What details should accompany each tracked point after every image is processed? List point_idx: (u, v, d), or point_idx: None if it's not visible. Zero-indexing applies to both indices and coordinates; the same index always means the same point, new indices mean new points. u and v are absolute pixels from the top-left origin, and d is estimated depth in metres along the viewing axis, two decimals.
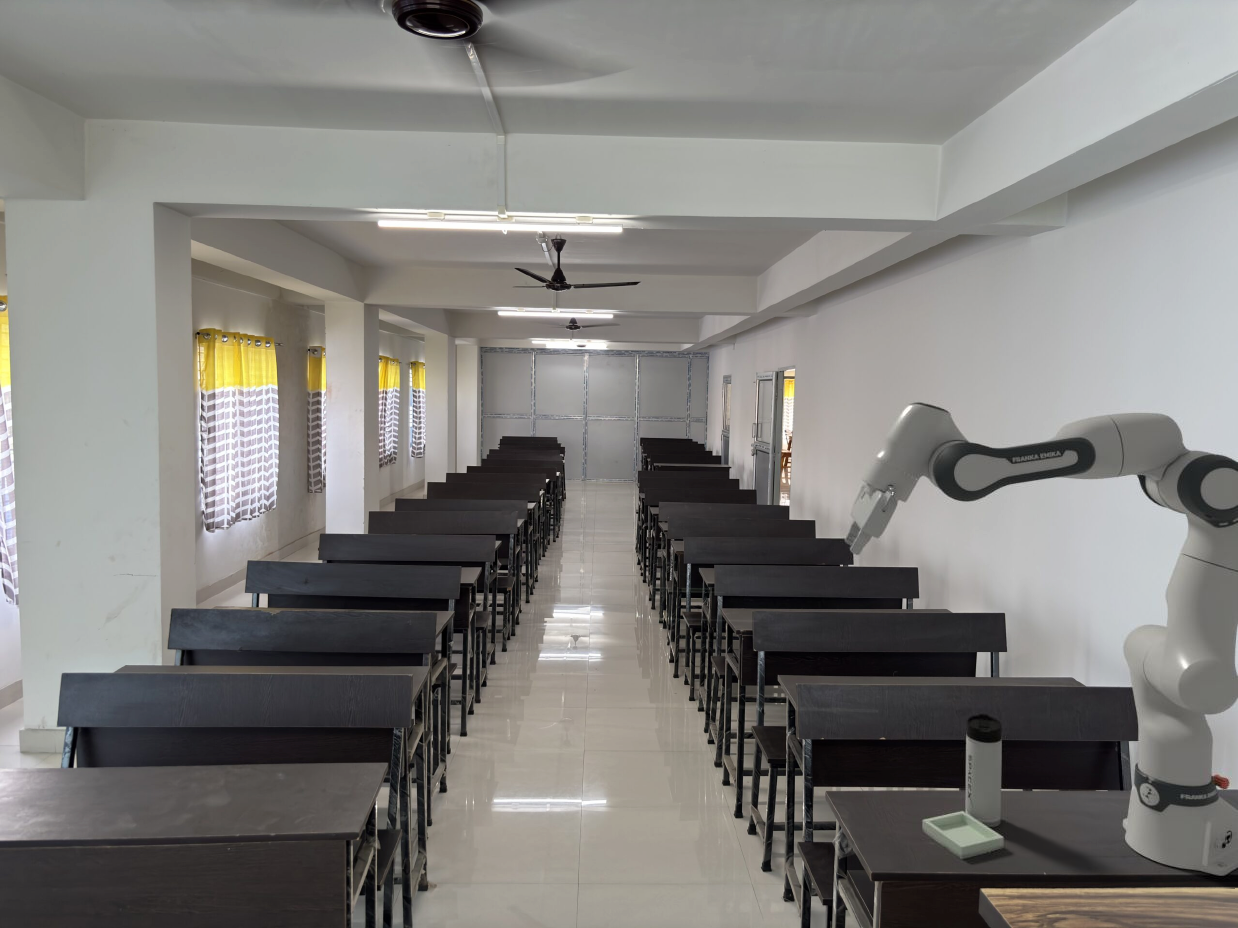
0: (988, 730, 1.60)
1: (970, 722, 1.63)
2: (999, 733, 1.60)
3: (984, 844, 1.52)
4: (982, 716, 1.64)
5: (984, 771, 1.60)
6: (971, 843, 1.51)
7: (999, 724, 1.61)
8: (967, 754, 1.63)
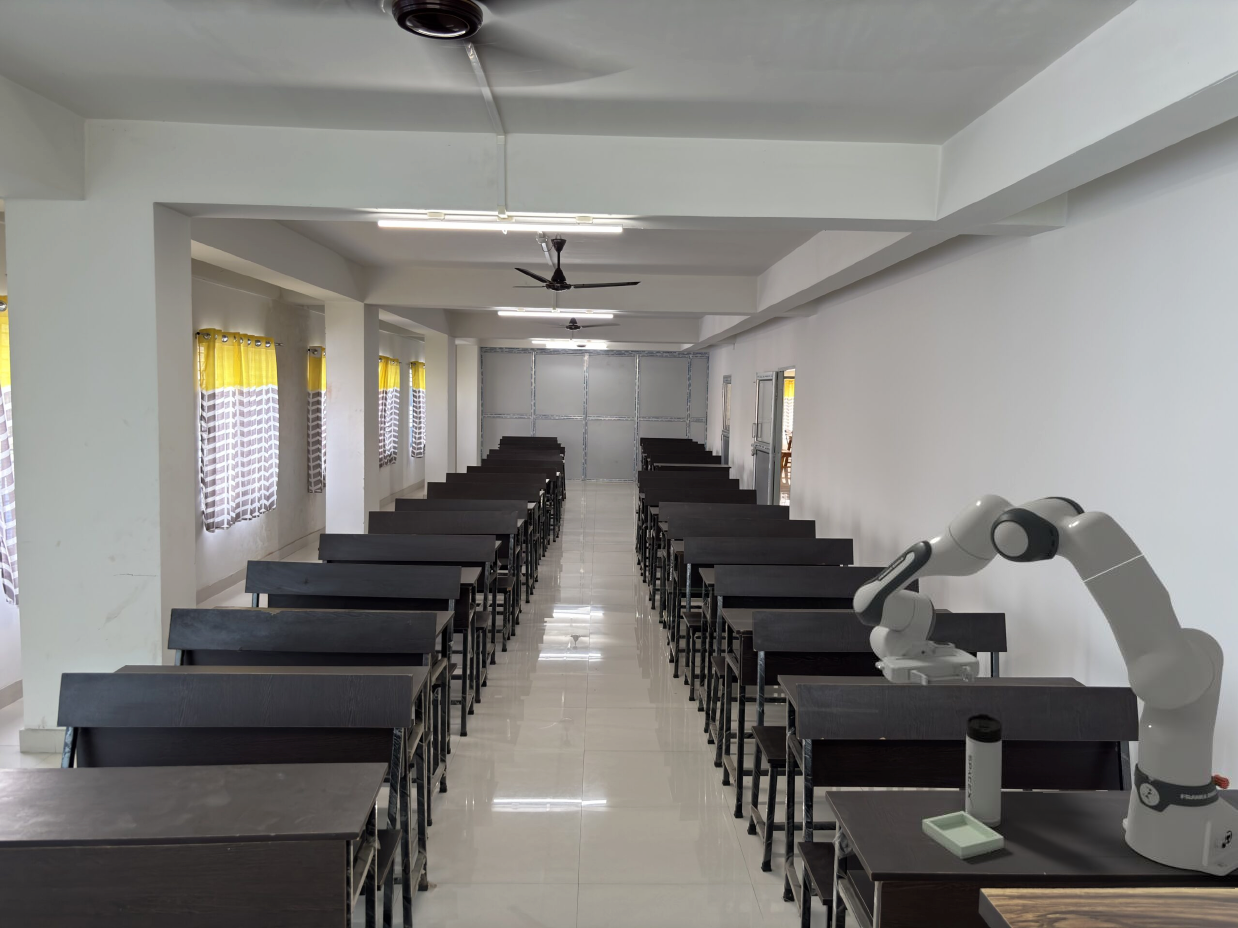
0: (988, 730, 1.60)
1: (970, 722, 1.63)
2: (999, 733, 1.60)
3: (984, 844, 1.52)
4: (982, 716, 1.64)
5: (984, 771, 1.60)
6: (971, 843, 1.51)
7: (999, 724, 1.61)
8: (967, 754, 1.63)
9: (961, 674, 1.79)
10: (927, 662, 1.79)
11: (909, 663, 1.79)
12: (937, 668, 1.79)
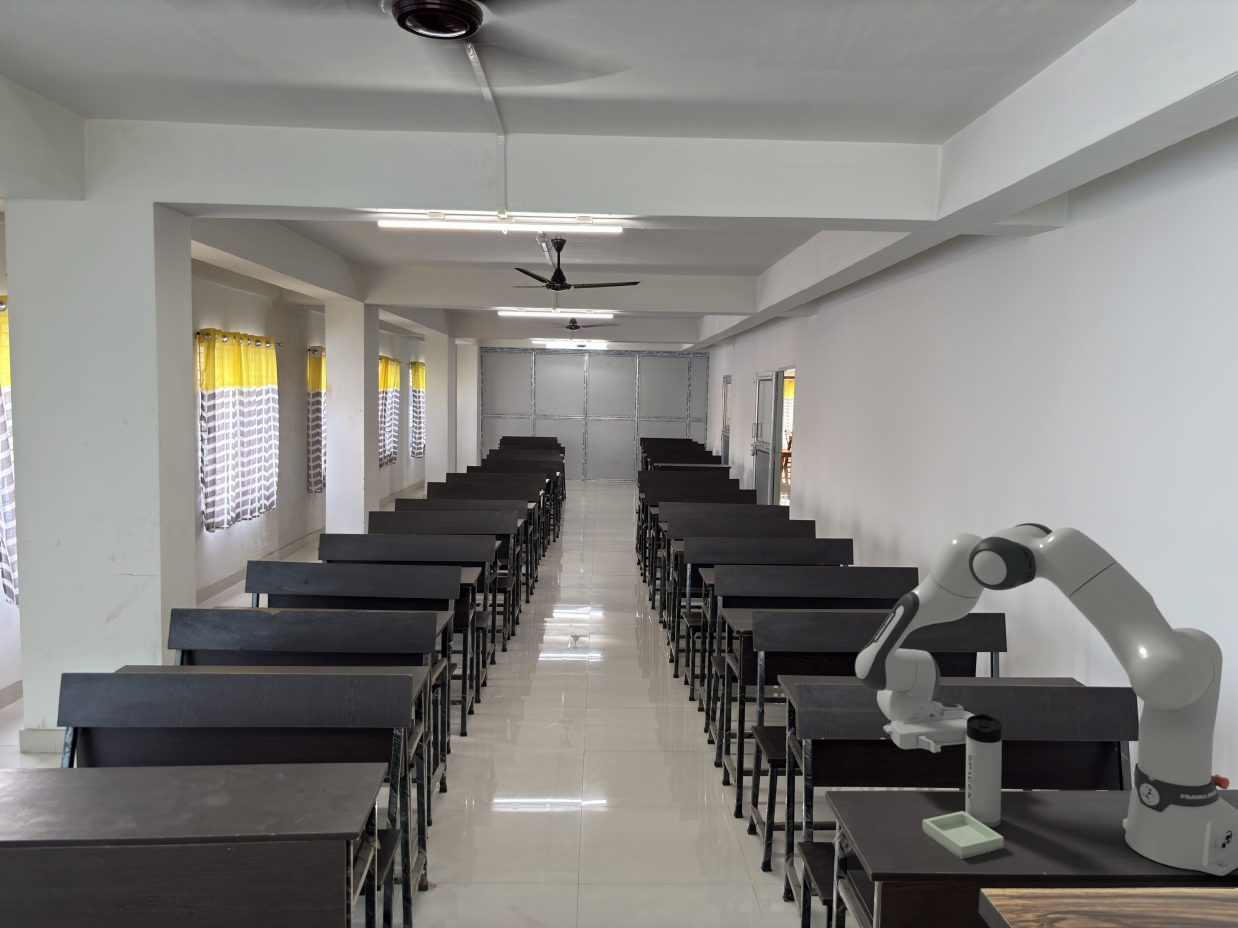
0: (988, 730, 1.60)
1: (970, 722, 1.63)
2: (999, 733, 1.60)
3: (984, 844, 1.52)
4: (982, 716, 1.64)
5: (984, 771, 1.60)
6: (971, 843, 1.51)
7: (999, 724, 1.61)
8: (967, 754, 1.63)
9: None
10: (936, 727, 1.77)
11: (917, 728, 1.77)
12: (946, 733, 1.77)
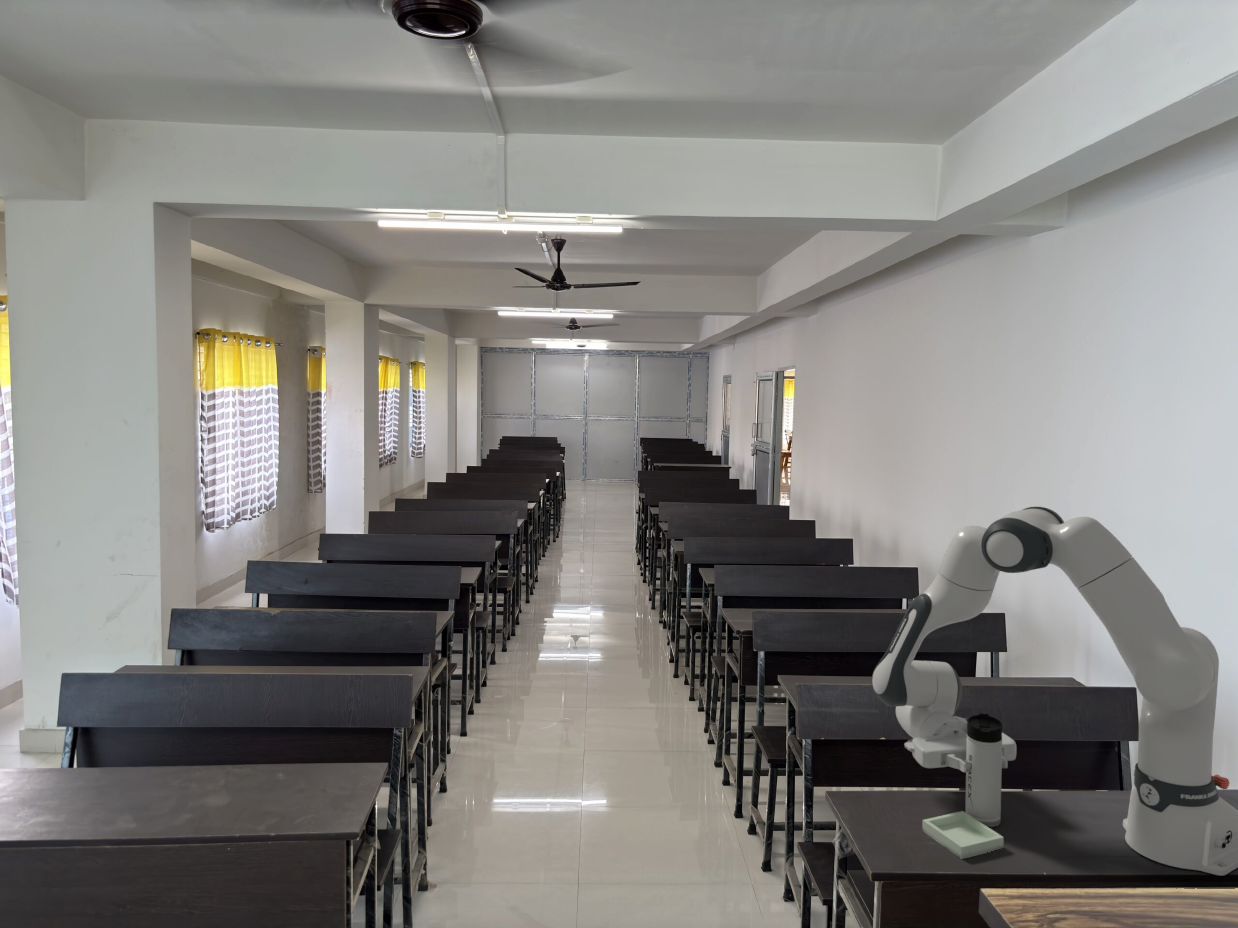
0: (988, 730, 1.60)
1: (970, 722, 1.63)
2: (999, 733, 1.60)
3: (984, 844, 1.52)
4: (982, 716, 1.64)
5: (984, 771, 1.60)
6: (971, 843, 1.51)
7: (999, 724, 1.61)
8: (967, 754, 1.63)
9: None
10: (961, 745, 1.67)
11: (941, 746, 1.67)
12: None
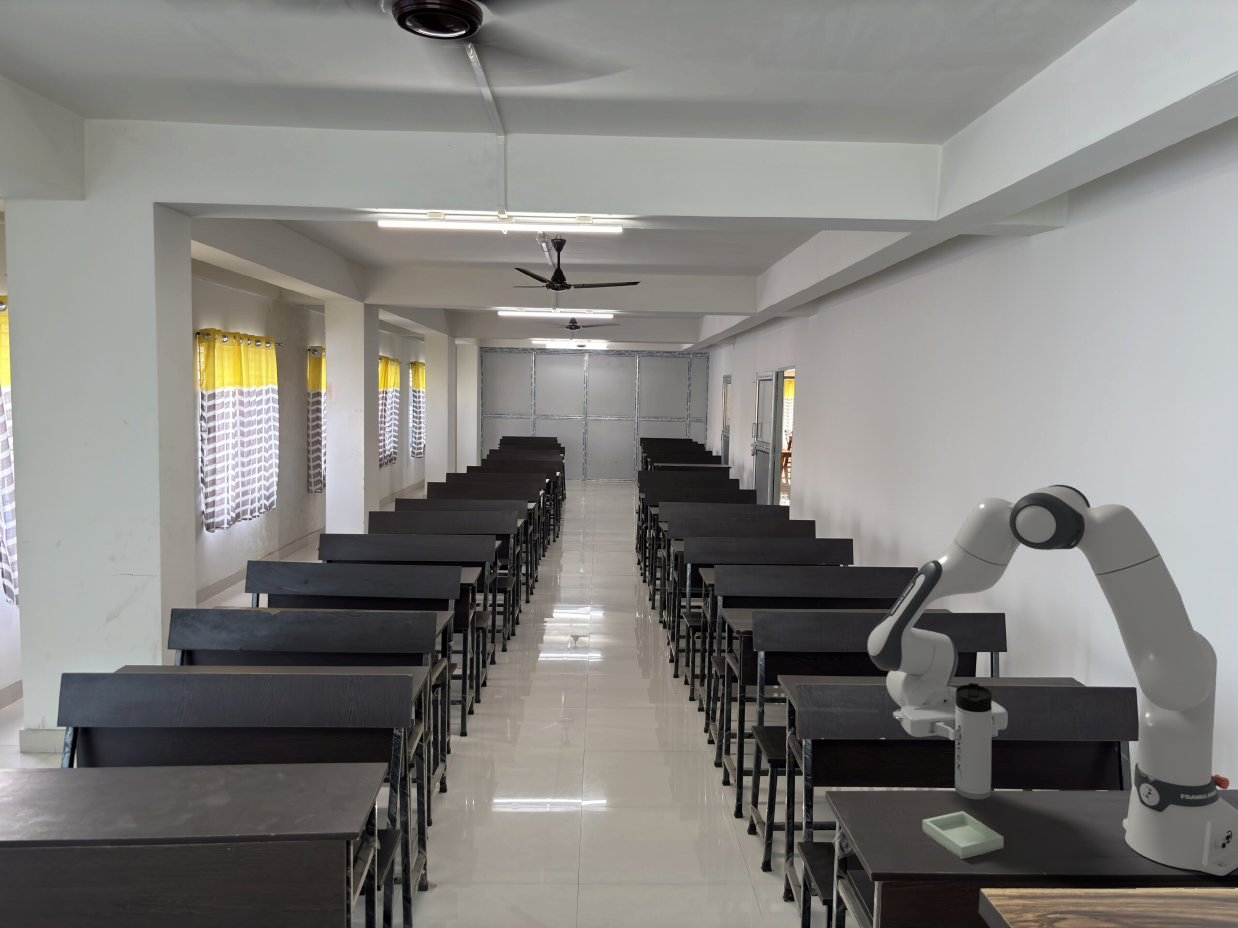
0: (977, 699, 1.56)
1: (959, 692, 1.59)
2: (989, 702, 1.56)
3: (984, 844, 1.52)
4: (972, 686, 1.60)
5: (973, 741, 1.56)
6: (971, 843, 1.51)
7: (989, 693, 1.57)
8: (956, 724, 1.59)
9: None
10: (950, 714, 1.63)
11: (930, 715, 1.63)
12: None
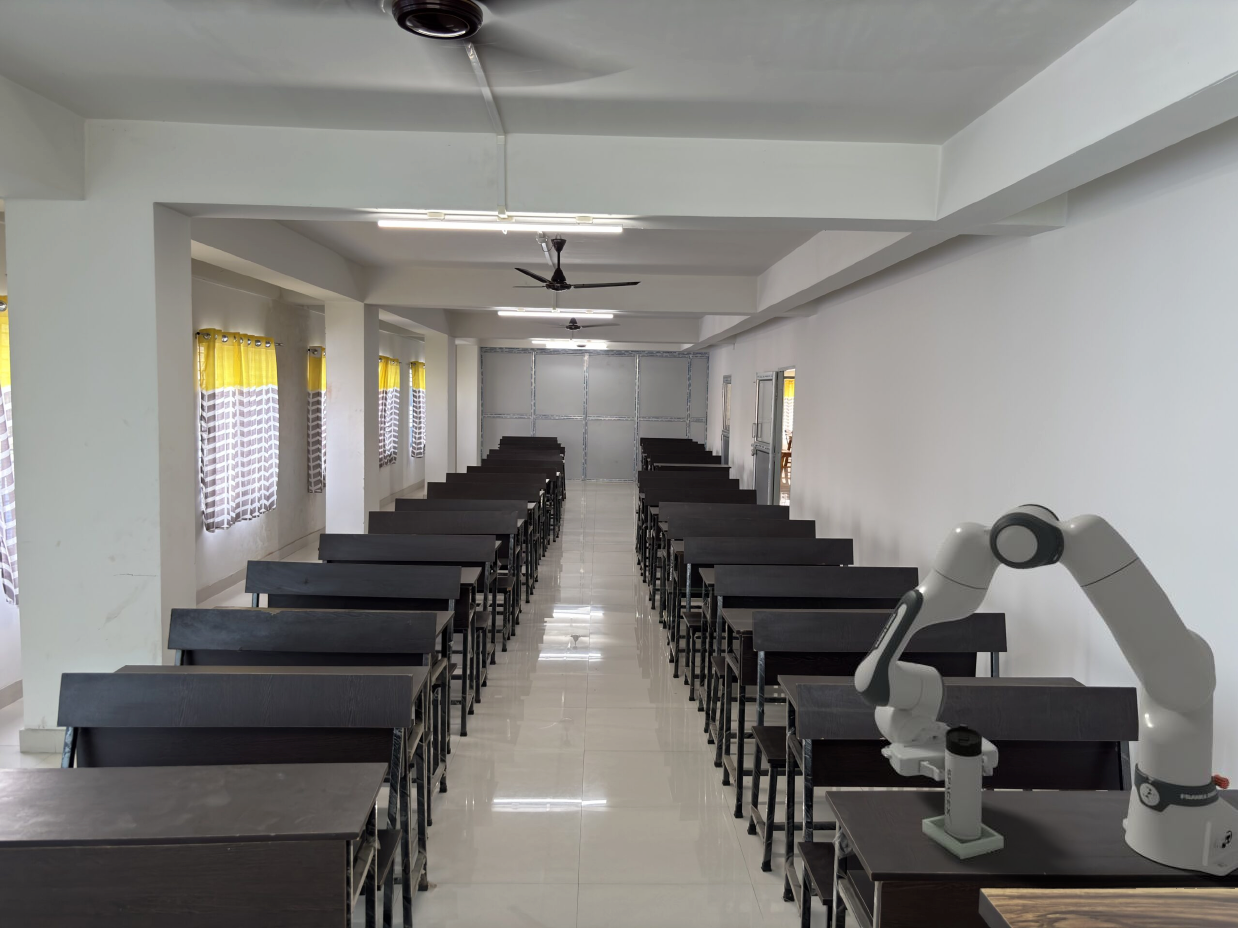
0: (968, 743, 1.53)
1: (949, 735, 1.56)
2: (979, 746, 1.52)
3: (984, 844, 1.52)
4: (962, 728, 1.57)
5: (963, 786, 1.53)
6: (971, 843, 1.51)
7: (979, 737, 1.54)
8: (946, 768, 1.55)
9: None
10: (940, 752, 1.60)
11: (919, 753, 1.60)
12: None
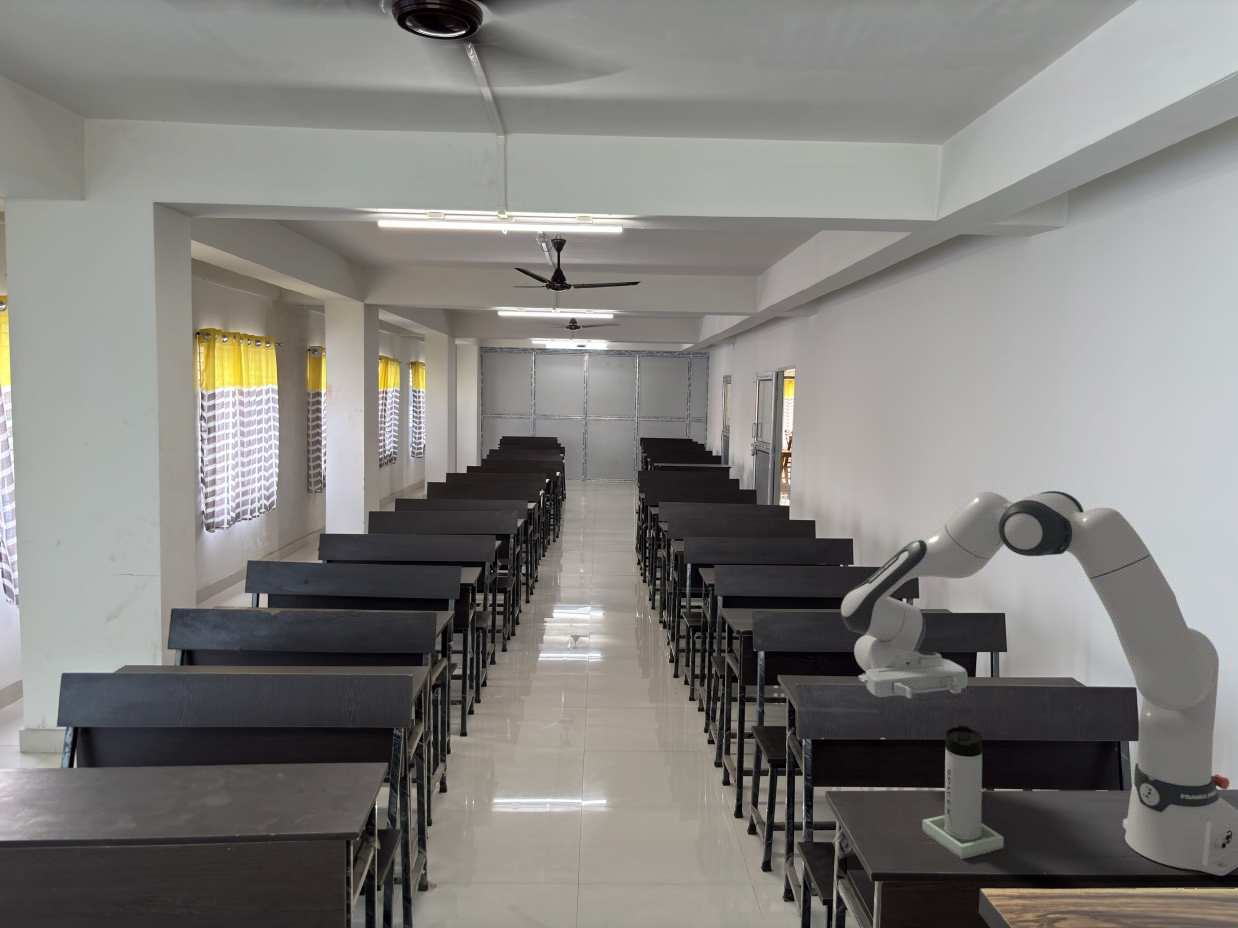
0: (968, 743, 1.53)
1: (949, 734, 1.56)
2: (979, 746, 1.53)
3: (984, 844, 1.52)
4: (962, 728, 1.57)
5: (963, 786, 1.53)
6: (971, 843, 1.51)
7: (979, 737, 1.54)
8: (946, 768, 1.56)
9: (948, 685, 1.70)
10: (912, 674, 1.70)
11: (893, 675, 1.70)
12: (922, 680, 1.70)
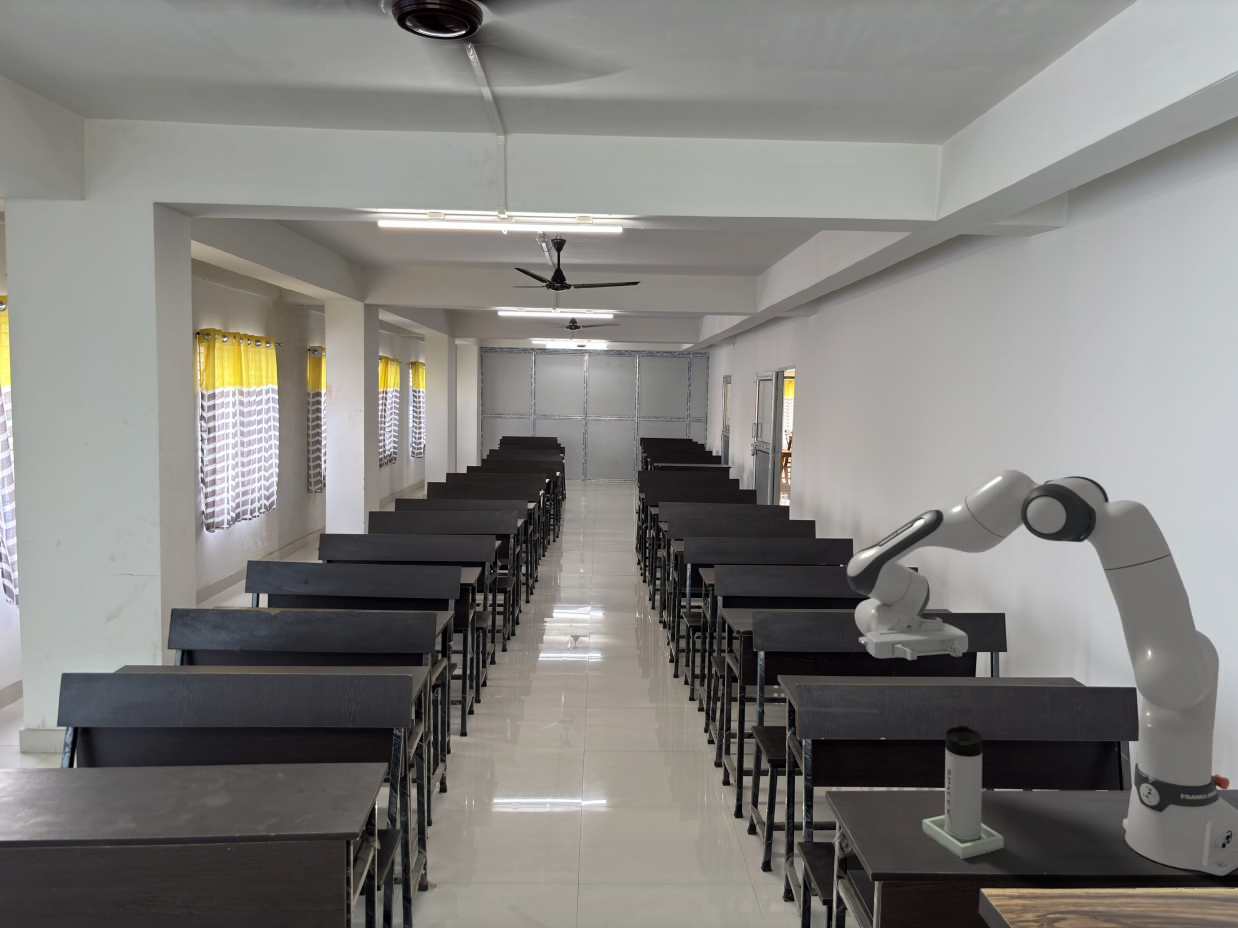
0: (968, 743, 1.53)
1: (949, 734, 1.56)
2: (979, 746, 1.53)
3: (984, 844, 1.52)
4: (962, 728, 1.57)
5: (963, 786, 1.53)
6: (971, 843, 1.51)
7: (979, 737, 1.54)
8: (946, 768, 1.56)
9: (948, 649, 1.69)
10: (913, 637, 1.70)
11: (893, 637, 1.69)
12: (923, 643, 1.70)
